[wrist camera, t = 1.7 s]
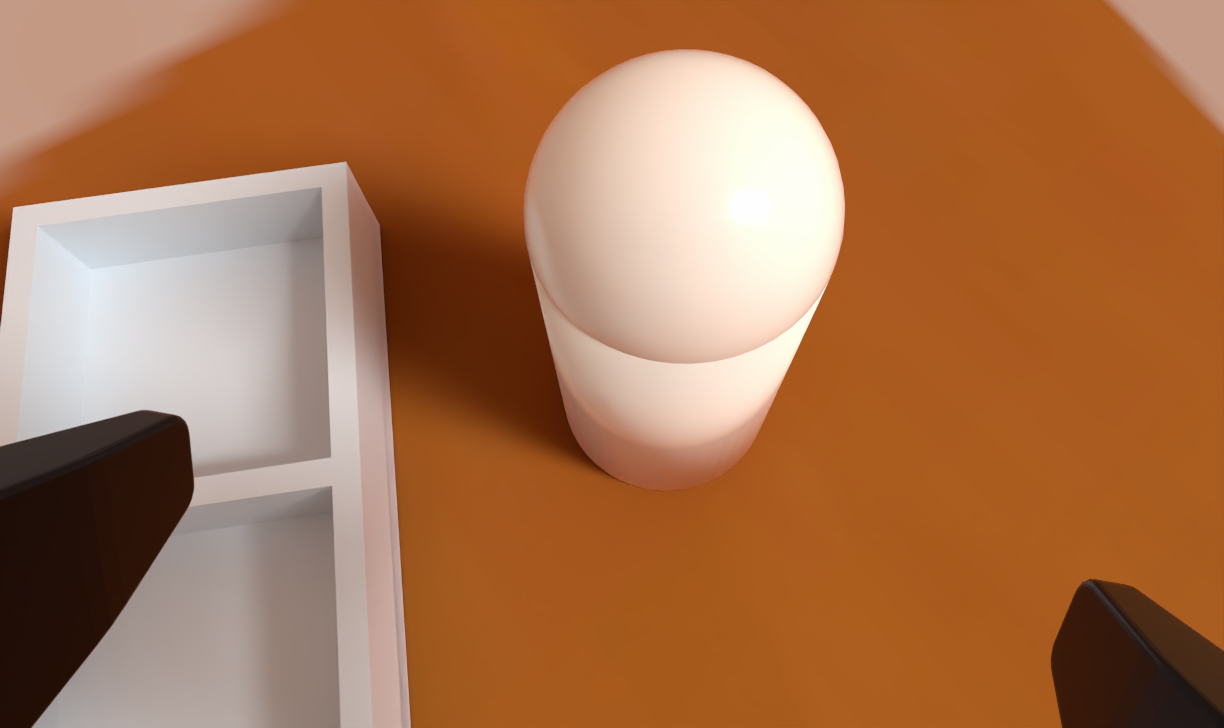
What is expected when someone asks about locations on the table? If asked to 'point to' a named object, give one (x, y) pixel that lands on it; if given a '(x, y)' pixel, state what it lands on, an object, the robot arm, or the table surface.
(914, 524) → the table surface
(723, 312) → the cream tall rounded piece
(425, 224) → the table surface
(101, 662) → the white compartment tray
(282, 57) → the table surface
